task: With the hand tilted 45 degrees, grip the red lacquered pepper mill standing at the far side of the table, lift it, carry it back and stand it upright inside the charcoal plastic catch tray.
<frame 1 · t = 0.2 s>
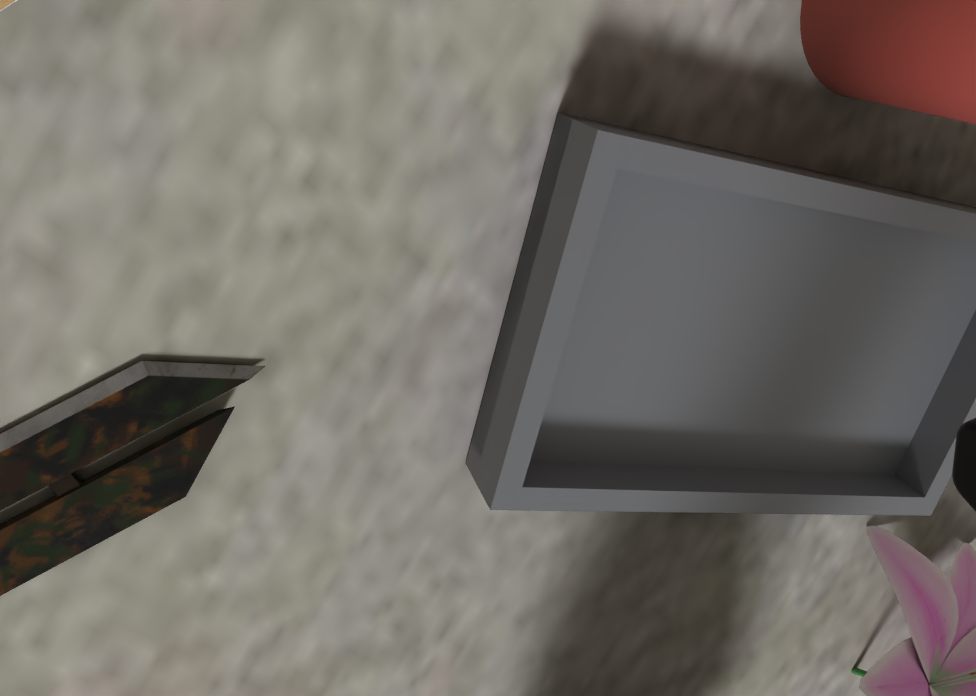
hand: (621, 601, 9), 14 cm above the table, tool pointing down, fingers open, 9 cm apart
lily: (887, 595, 36), on the table
catch tray: (752, 332, 27), on the table
pepper mill: (880, 0, 23), on the table
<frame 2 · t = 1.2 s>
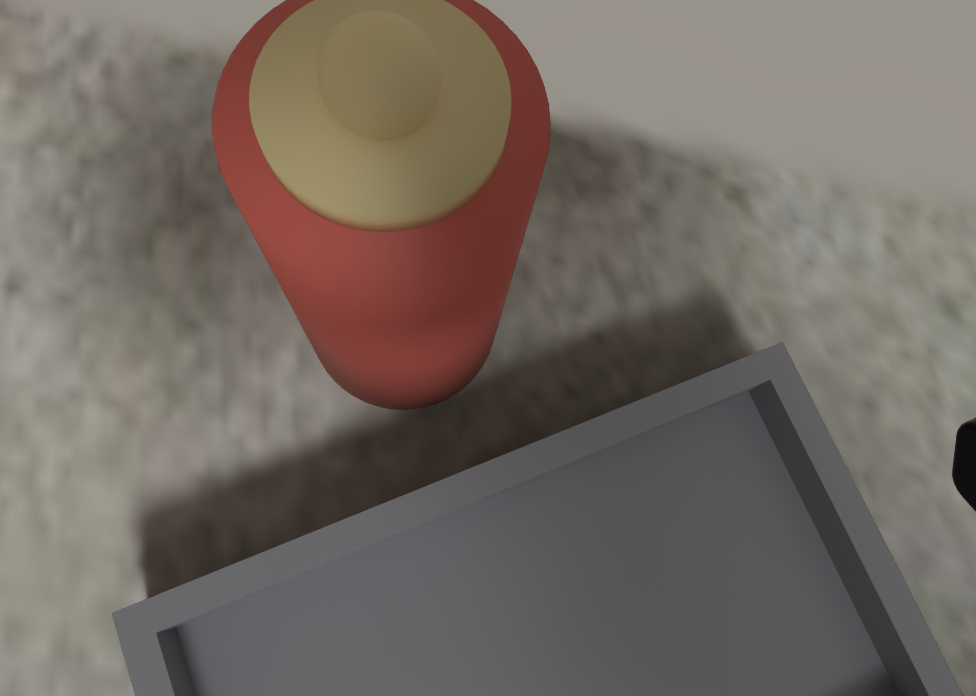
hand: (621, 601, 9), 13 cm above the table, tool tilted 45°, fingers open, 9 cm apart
catch tray: (544, 671, 21), on the table
pepper mill: (404, 319, 23), on the table
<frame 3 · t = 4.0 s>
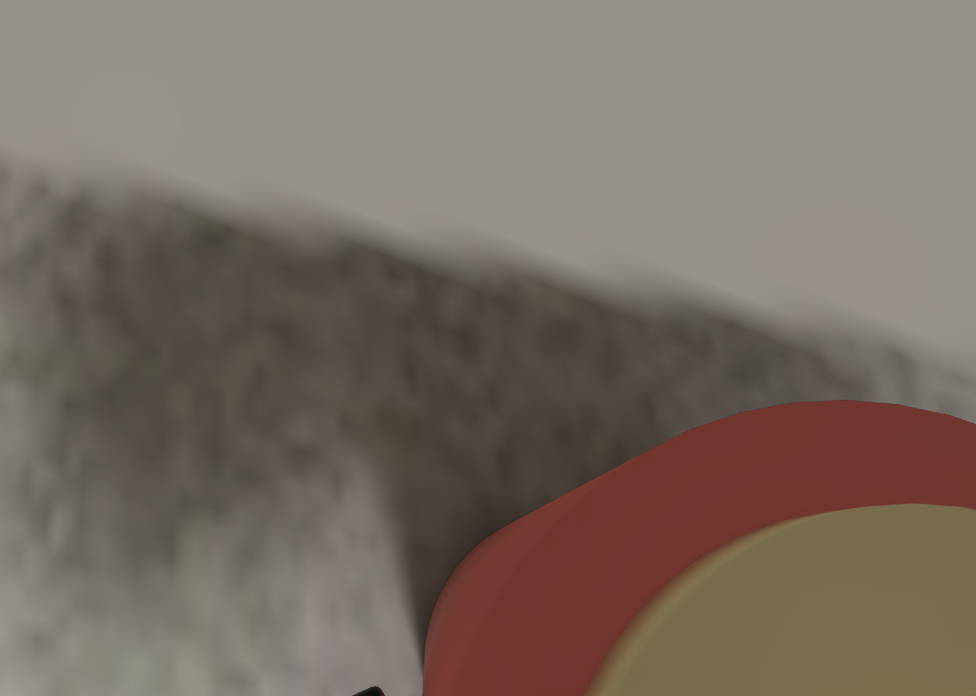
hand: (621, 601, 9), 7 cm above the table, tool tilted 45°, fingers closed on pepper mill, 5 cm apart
pepper mill: (568, 658, 15), on the table, touching gripper
when the fingers open (9 cm above the table, at t = 7.4 s): pepper mill drops 1 cm, resting on catch tray.
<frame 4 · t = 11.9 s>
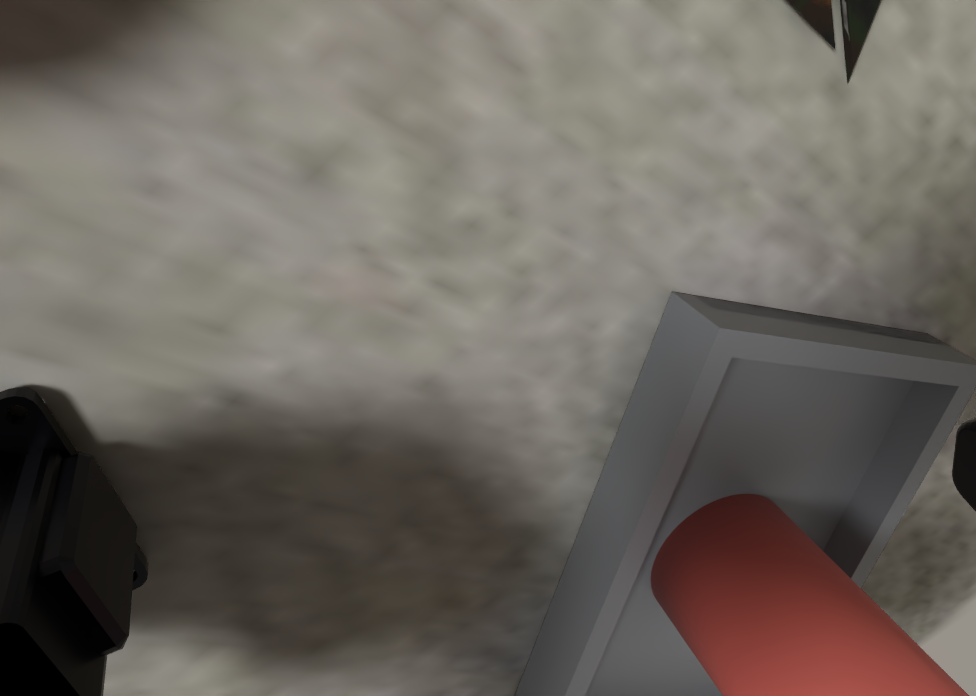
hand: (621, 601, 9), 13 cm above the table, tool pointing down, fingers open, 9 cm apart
catch tray: (707, 537, 29), on the table
pepper mill: (719, 556, 28), point 1 cm above the table, touching catch tray
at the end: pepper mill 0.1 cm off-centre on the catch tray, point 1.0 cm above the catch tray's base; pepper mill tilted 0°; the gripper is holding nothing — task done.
